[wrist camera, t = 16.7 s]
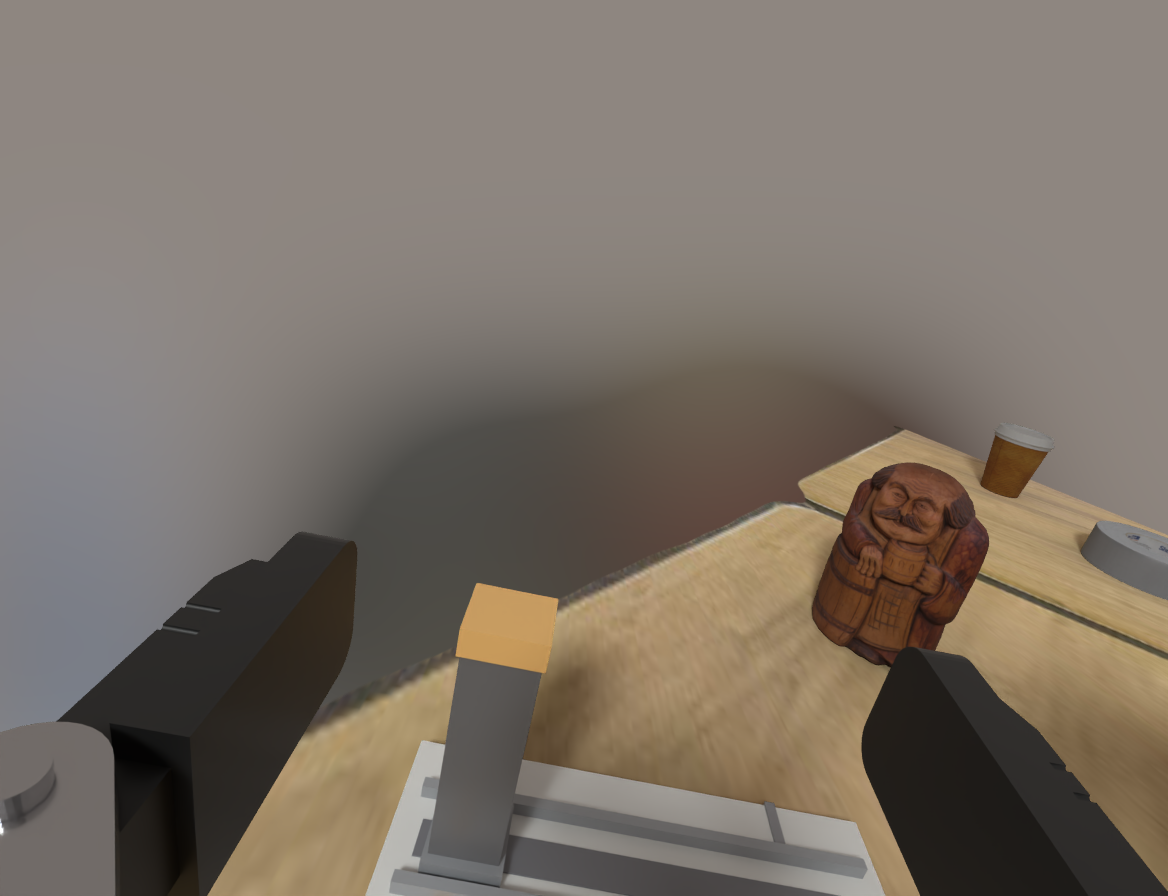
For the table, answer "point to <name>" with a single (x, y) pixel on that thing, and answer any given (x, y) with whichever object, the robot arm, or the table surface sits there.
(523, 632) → the fader
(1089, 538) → the tape roll
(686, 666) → the table surface
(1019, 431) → the disposable coffee cup
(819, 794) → the table surface
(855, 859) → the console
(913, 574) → the wooden figurine
